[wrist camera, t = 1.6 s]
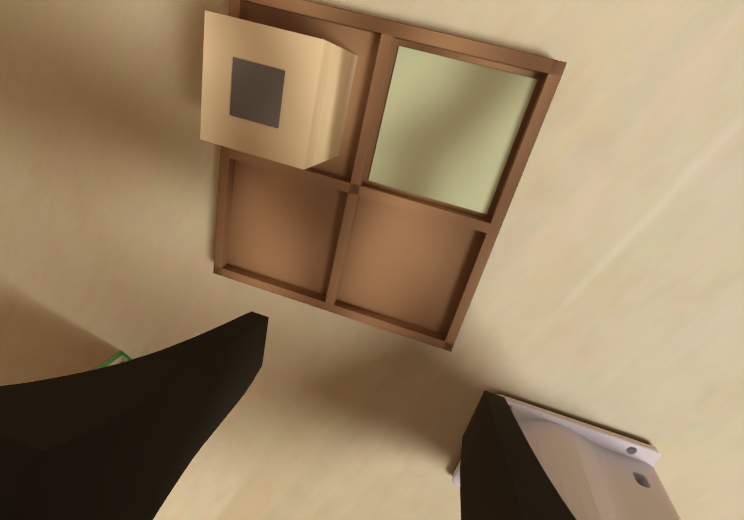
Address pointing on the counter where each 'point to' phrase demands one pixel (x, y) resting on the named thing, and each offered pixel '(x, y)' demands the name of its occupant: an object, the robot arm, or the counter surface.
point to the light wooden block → (273, 91)
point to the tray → (388, 176)
